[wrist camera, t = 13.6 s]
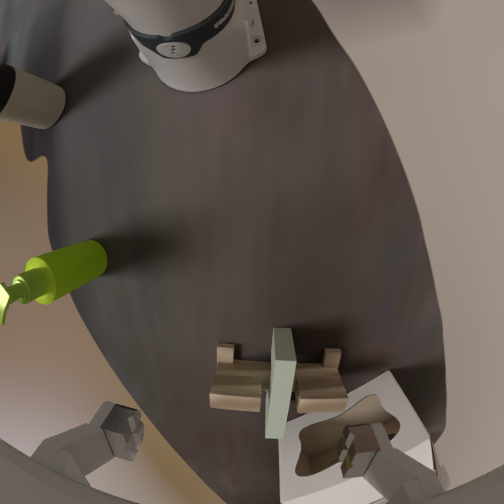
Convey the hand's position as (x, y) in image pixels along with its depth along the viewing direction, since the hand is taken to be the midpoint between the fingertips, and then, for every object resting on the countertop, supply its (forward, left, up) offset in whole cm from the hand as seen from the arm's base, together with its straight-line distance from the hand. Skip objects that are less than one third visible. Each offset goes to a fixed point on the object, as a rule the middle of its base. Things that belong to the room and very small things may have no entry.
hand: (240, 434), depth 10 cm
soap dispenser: (+2, -26, -31) cm, 40 cm away
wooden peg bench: (+17, +4, -30) cm, 35 cm away
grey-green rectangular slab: (+17, +4, -30) cm, 35 cm away
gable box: (+29, +18, -31) cm, 46 cm away
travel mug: (-24, -37, -31) cm, 54 cm away
